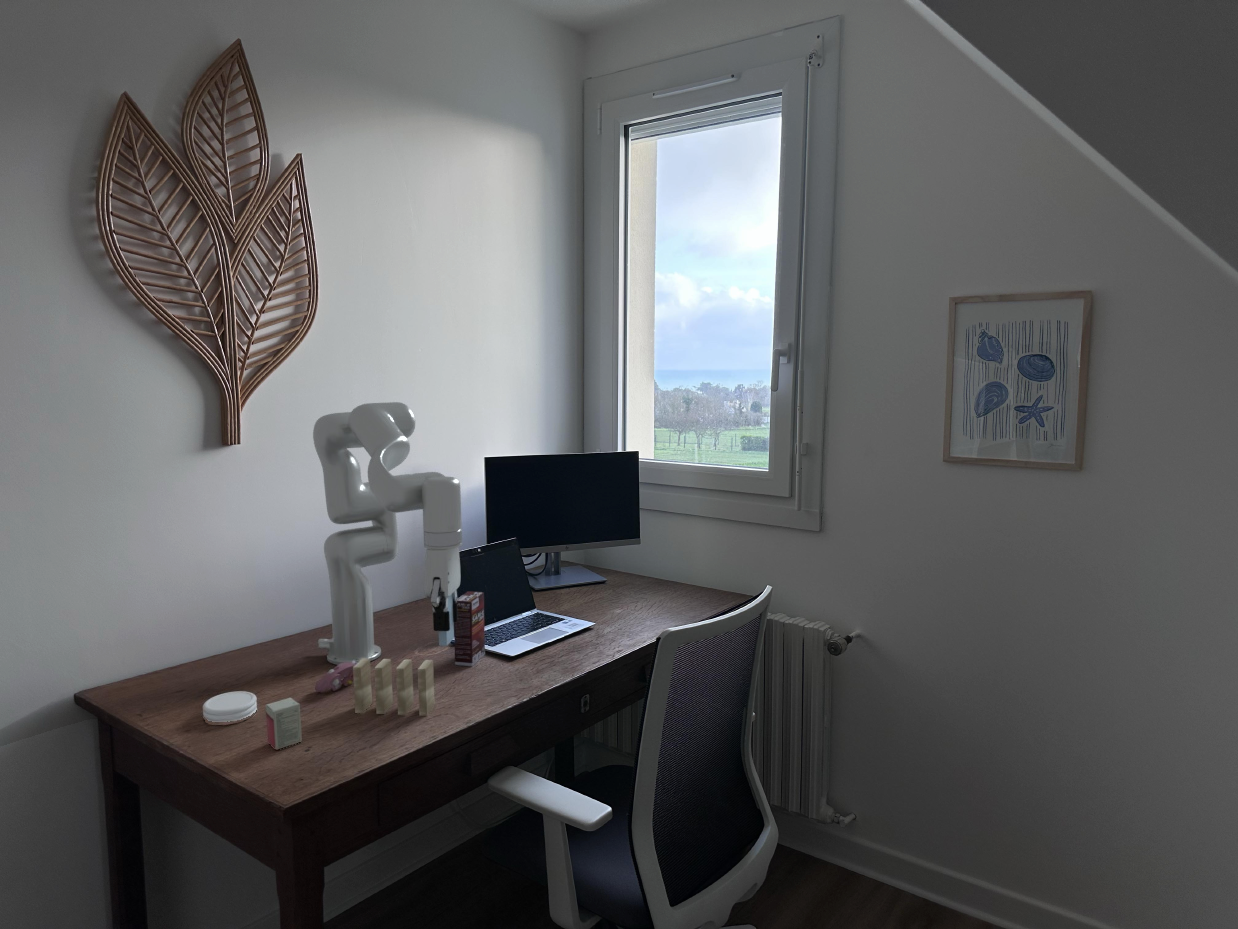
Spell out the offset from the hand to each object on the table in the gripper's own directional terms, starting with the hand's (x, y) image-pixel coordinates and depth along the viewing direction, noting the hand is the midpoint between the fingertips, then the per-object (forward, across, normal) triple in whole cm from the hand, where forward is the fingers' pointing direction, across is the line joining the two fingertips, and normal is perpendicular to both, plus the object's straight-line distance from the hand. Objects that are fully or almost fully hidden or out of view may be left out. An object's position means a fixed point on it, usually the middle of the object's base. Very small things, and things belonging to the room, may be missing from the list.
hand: (445, 625), depth 164 cm
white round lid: (+19, +5, -44) cm, 48 cm away
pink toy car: (+19, -11, -28) cm, 35 cm away
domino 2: (+18, 0, -14) cm, 23 cm away
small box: (+19, +16, -27) cm, 37 cm away
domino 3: (+18, 0, -9) cm, 21 cm away
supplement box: (+19, -29, -3) cm, 35 cm away
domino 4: (+18, 0, -5) cm, 19 cm away
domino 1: (+18, 0, -18) cm, 26 cm away
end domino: (+3, 0, 0) cm, 3 cm away
